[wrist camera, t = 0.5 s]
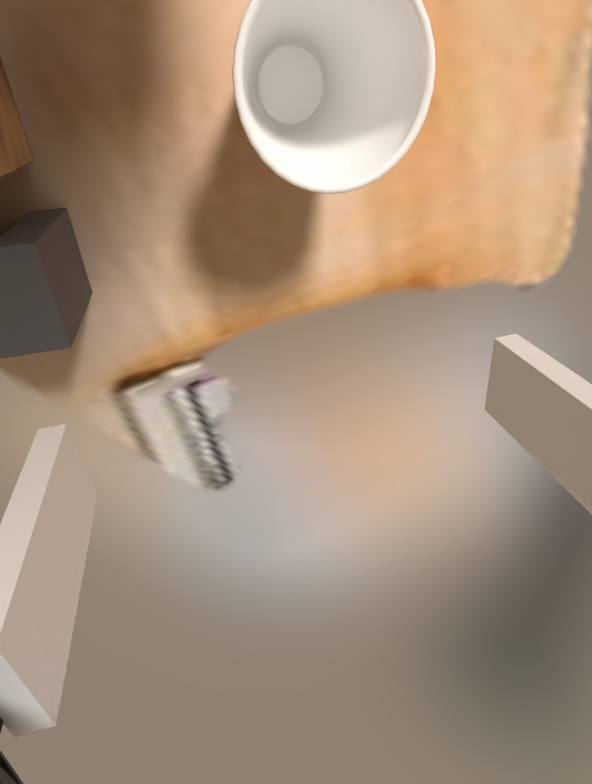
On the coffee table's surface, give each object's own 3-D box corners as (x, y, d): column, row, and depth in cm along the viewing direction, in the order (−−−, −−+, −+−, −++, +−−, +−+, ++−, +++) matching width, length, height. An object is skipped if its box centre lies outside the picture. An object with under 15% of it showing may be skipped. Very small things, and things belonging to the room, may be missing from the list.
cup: (265, 196, 35) (299, 231, 26) (181, 50, 30) (187, 29, 20) (383, 117, 34) (462, 124, 25) (319, -49, 29) (389, -117, 20)
